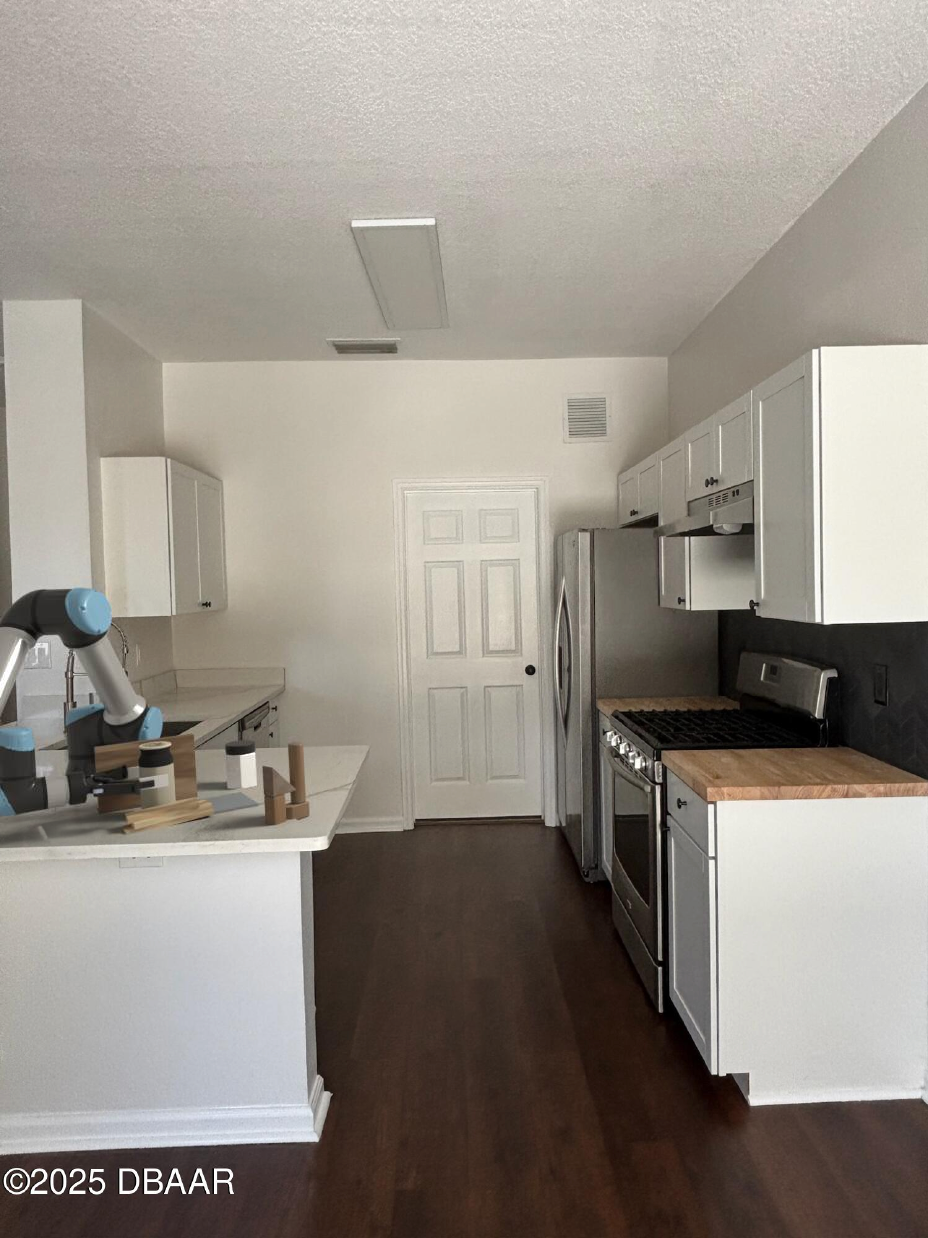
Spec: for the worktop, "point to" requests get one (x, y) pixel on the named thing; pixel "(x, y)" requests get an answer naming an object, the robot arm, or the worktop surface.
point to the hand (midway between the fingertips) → (161, 774)
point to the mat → (230, 802)
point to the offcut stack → (166, 815)
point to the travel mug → (156, 773)
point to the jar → (241, 764)
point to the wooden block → (286, 789)
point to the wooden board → (129, 756)
